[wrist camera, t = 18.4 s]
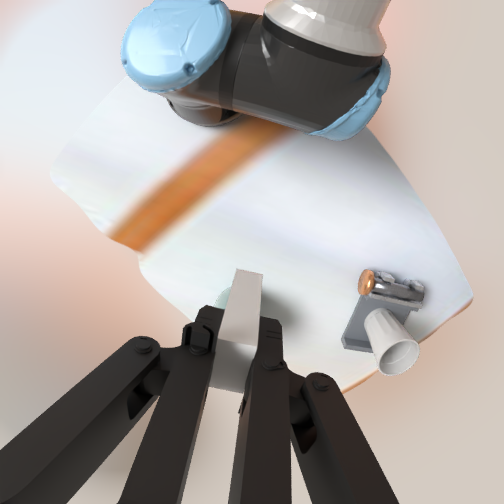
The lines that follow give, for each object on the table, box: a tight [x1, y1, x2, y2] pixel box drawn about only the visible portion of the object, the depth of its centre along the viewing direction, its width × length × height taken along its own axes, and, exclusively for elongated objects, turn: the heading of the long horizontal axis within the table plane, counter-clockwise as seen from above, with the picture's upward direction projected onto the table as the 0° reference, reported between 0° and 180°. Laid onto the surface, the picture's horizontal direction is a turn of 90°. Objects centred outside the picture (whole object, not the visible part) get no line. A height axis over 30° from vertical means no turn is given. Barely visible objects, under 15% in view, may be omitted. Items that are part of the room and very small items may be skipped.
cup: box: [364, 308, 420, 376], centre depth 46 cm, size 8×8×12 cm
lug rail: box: [368, 271, 424, 309], centre depth 48 cm, size 4×12×4 cm, turn 76°
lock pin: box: [358, 269, 424, 302], centre depth 47 cm, size 13×4×4 cm, turn 76°
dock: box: [341, 295, 419, 353], centre depth 51 cm, size 12×12×3 cm
